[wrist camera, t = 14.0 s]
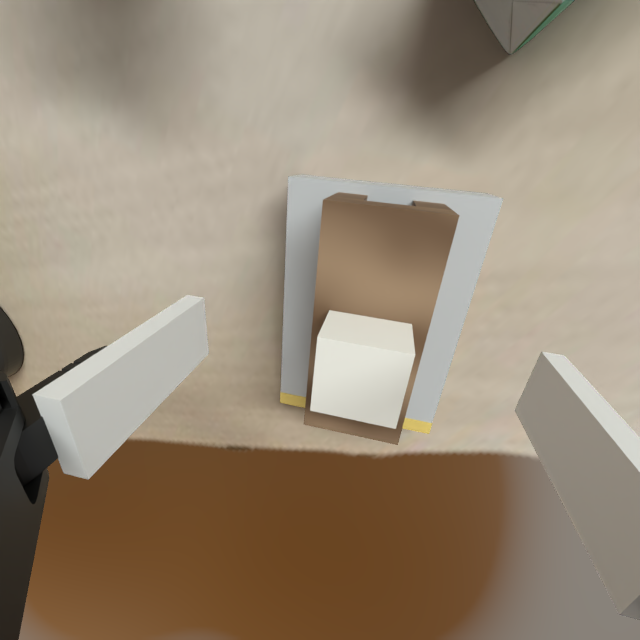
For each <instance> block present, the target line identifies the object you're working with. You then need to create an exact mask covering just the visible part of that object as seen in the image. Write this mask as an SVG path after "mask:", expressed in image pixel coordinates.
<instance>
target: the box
mask: <svg viewBox="0 0 640 640" xmlns="http://www.w3.org/2000/svg"><path fill="white" fill-rule="evenodd" d="M573 1H574V0H474V2H475V3H476V5H477V7H478V8H479V10H480V12H481V14H482V15H483V17H484V19H485V20H486V22H487V24H488V25H489V27H490V29H491V30H492V32H493V33H494V35H495V36H496V38H497V39H498V41H499V42H500V44H501V45H502V47H503V48H504V50H505V51H506V52H508V53H509V54H513V53H514V52H516V51H517V50H518V49H520V48H521V47H522V46H523V45H525V44H526V43H527V42H528V41H530V40H531V39H532V38H533V37H534V36H536V35H537V34H538V33H539V32H540V31H541V30H542V29H543V28H544V27H546V26H547V25H548V24H549V23H550V22H551V21H552V20H553V19H554V18H556V17H557V16H558V15H559V14H560V13H561V12H562V11H563V10H565V9H566V8H567V7H568V6H569V5H570V4H571V3H572V2H573Z"/></svg>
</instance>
